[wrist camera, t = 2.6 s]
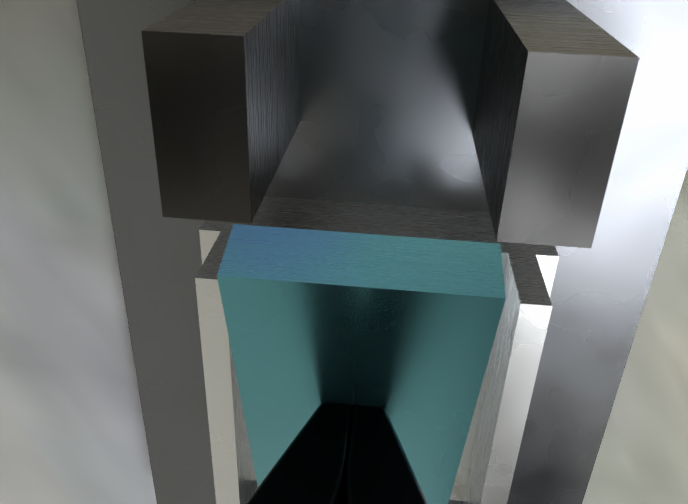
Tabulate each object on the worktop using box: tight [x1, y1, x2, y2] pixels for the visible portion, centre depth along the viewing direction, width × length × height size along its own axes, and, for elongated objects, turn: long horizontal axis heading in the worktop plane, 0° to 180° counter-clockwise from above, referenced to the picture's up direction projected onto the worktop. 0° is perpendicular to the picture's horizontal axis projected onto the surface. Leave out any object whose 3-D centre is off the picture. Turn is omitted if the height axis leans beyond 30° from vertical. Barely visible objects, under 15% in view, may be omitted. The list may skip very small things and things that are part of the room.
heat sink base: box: [77, 0, 688, 504], centre depth 16 cm, size 18×14×7 cm
